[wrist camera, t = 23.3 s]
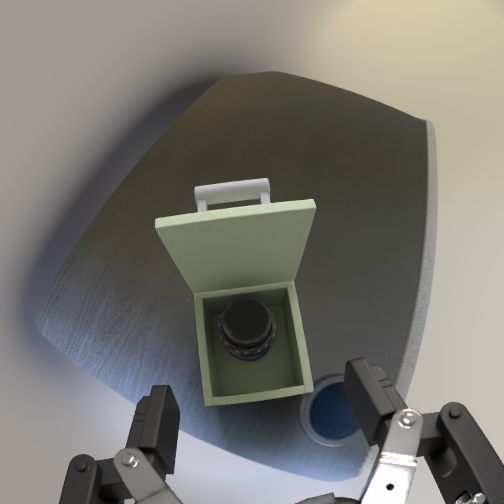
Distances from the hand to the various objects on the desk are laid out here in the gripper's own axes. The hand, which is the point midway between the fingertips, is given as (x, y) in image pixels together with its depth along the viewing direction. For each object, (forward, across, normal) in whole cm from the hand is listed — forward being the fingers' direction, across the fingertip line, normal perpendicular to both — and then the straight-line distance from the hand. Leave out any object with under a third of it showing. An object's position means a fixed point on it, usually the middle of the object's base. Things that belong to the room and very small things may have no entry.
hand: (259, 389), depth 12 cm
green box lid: (+15, 0, -1) cm, 15 cm away
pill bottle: (+22, 0, +12) cm, 25 cm away
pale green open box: (+21, 0, +14) cm, 25 cm away
